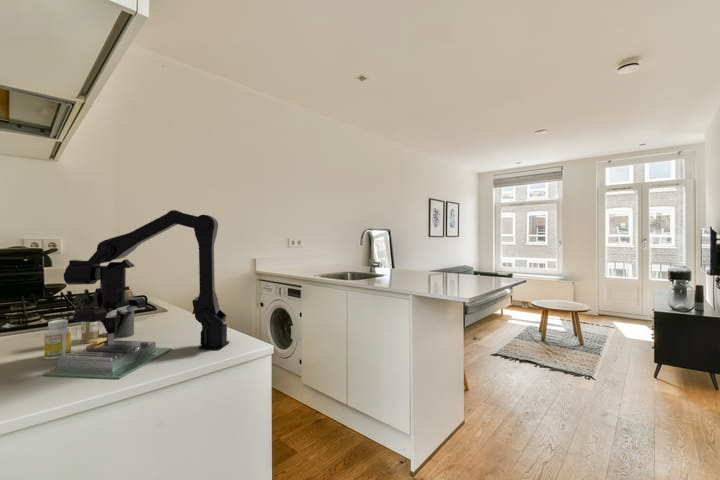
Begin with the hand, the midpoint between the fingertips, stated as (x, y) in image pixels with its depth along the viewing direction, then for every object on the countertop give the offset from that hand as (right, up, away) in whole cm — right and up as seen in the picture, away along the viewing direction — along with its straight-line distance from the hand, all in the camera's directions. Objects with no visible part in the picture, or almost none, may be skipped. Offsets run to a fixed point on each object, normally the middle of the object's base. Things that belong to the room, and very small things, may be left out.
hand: (112, 338), depth 91 cm
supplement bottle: (-13, -4, -3) cm, 14 cm away
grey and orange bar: (+5, -1, -6) cm, 8 cm away
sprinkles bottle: (-14, -4, +9) cm, 17 cm away
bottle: (-9, -4, +16) cm, 19 cm away
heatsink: (+5, -4, -6) cm, 9 cm away
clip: (0, -1, -4) cm, 4 cm away
